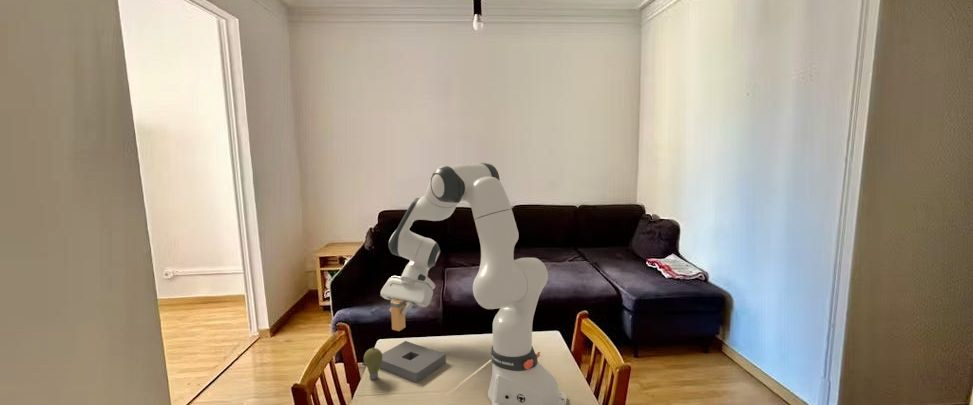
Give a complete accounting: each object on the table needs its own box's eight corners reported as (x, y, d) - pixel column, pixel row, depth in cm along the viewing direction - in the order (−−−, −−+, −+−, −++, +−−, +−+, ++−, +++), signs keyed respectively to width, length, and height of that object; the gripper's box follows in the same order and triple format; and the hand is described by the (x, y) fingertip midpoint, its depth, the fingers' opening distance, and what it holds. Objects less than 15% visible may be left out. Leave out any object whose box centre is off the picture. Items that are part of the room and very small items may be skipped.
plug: (405, 327, 152) (404, 300, 151) (399, 331, 149) (397, 304, 147) (398, 325, 154) (397, 299, 152) (391, 329, 150) (390, 302, 149)
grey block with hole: (445, 364, 139) (445, 354, 139) (416, 384, 128) (416, 373, 127) (405, 350, 149) (405, 340, 149) (375, 367, 137) (374, 357, 137)
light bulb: (385, 375, 133) (384, 344, 132) (379, 384, 128) (378, 353, 126) (368, 374, 134) (367, 344, 132) (361, 384, 128) (360, 352, 127)
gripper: (387, 270, 160) (369, 304, 152) (431, 278, 150) (416, 314, 143) (395, 278, 164) (378, 311, 157) (439, 286, 155) (424, 322, 148)
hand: (397, 313), depth 150 cm, fingers closed on plug, 3 cm apart
